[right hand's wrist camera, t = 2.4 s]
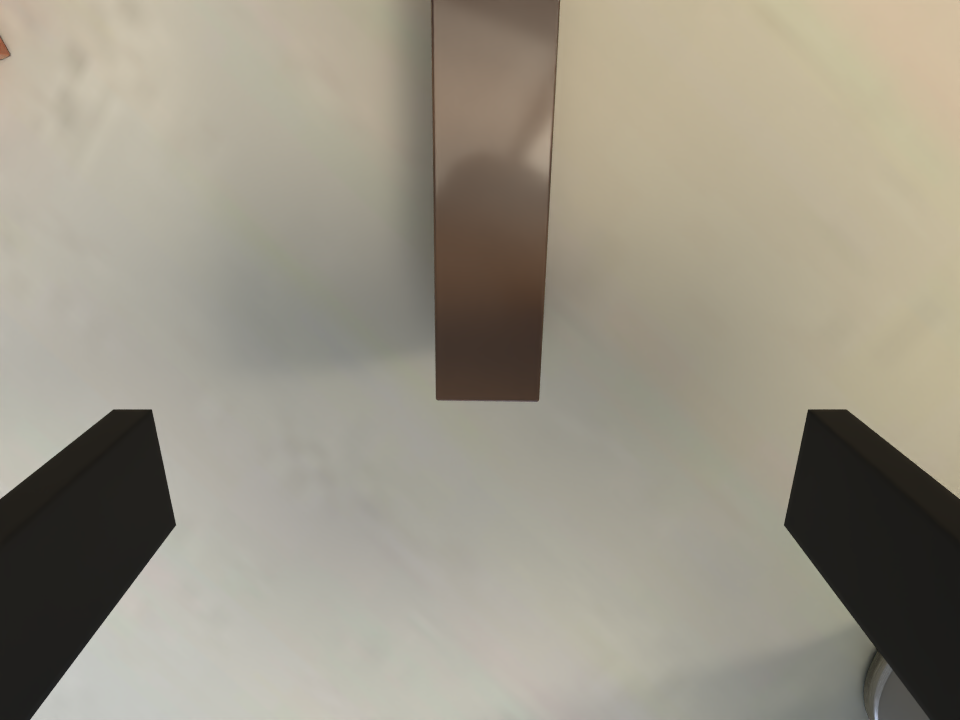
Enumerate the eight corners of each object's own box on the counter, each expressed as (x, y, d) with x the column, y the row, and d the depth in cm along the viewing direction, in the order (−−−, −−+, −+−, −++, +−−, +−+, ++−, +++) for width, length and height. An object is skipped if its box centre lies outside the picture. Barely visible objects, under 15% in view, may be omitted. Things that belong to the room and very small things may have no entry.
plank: (442, -431, 22) (421, -723, 14) (557, -430, 22) (598, -719, 14) (446, 335, 32) (435, 401, 24) (525, 336, 32) (539, 402, 24)
